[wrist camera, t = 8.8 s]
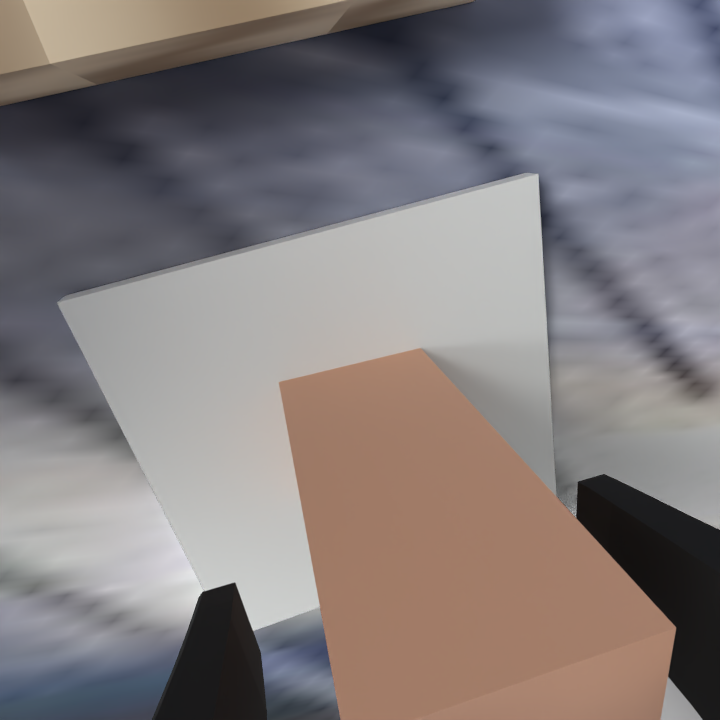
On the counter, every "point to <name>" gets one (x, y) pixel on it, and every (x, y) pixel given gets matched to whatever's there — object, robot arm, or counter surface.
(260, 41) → the pocket block
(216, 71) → the counter surface
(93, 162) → the counter surface
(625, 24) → the counter surface
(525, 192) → the mat
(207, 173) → the counter surface
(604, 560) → the peg
